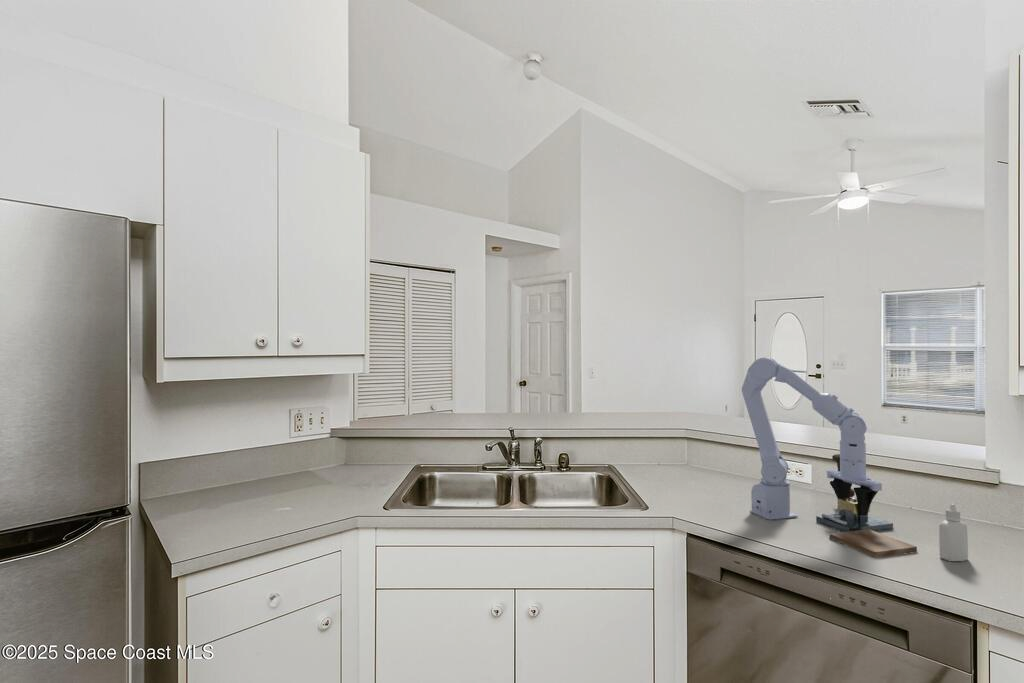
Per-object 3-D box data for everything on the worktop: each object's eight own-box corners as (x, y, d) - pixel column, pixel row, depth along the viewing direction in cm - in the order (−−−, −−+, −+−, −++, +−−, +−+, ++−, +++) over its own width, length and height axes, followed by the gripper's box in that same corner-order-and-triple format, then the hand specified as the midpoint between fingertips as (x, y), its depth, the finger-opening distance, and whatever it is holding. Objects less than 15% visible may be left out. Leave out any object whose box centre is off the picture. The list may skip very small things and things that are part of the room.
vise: (849, 534, 129) (848, 506, 129) (816, 521, 139) (815, 495, 139) (893, 529, 132) (892, 501, 133) (858, 517, 142) (857, 491, 142)
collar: (854, 513, 133) (854, 504, 133) (837, 508, 137) (837, 498, 137) (869, 512, 134) (869, 502, 134) (852, 506, 139) (852, 497, 139)
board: (875, 557, 115) (875, 552, 115) (829, 538, 126) (829, 533, 126) (916, 552, 118) (916, 546, 118) (868, 533, 129) (868, 529, 129)
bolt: (858, 510, 148) (857, 458, 148) (839, 509, 149) (838, 457, 149) (849, 504, 153) (849, 454, 153) (831, 503, 154) (830, 453, 154)
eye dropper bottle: (933, 553, 117) (932, 500, 117) (963, 556, 115) (962, 502, 115) (943, 561, 112) (942, 506, 113) (975, 564, 111) (973, 508, 111)
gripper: (891, 464, 130) (892, 518, 130) (841, 453, 144) (842, 502, 144) (868, 466, 128) (869, 521, 128) (820, 454, 142) (821, 504, 142)
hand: (853, 511), depth 136 cm, fingers closed on collar, 5 cm apart
